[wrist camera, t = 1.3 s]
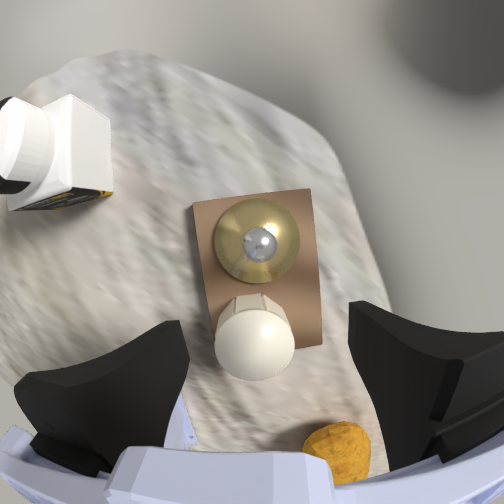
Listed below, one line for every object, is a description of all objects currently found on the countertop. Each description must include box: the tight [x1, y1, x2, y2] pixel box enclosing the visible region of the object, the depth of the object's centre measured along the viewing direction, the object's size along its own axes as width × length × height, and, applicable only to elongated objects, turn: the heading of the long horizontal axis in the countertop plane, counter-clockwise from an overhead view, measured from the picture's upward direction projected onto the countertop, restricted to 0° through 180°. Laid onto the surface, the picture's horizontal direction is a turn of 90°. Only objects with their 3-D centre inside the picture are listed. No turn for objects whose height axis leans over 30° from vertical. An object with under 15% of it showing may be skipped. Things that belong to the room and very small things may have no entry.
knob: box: [215, 198, 300, 283], centre depth 19 cm, size 6×6×3 cm
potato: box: [302, 421, 371, 485], centre depth 22 cm, size 8×14×7 cm, turn 17°
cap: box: [215, 293, 295, 381], centre depth 20 cm, size 5×5×4 cm
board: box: [193, 189, 322, 349], centre depth 22 cm, size 13×9×1 cm
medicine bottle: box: [0, 94, 114, 211], centre depth 15 cm, size 7×7×12 cm
